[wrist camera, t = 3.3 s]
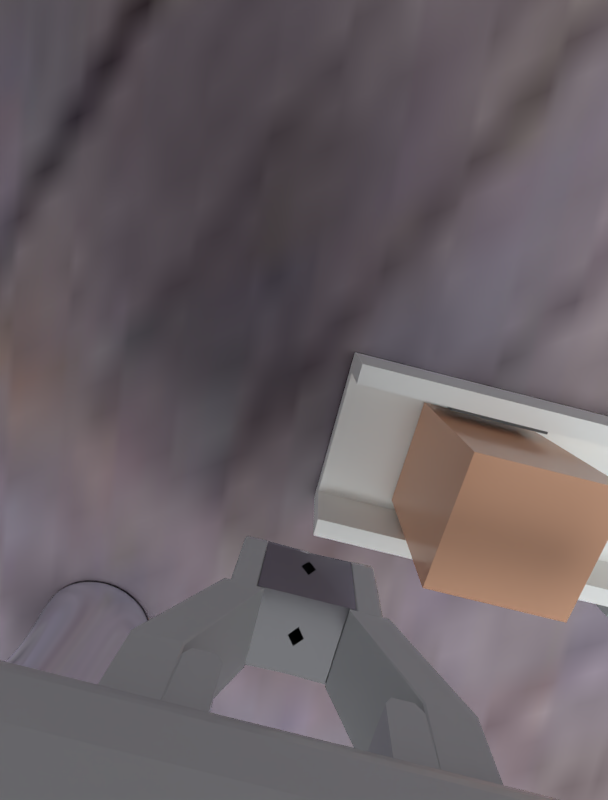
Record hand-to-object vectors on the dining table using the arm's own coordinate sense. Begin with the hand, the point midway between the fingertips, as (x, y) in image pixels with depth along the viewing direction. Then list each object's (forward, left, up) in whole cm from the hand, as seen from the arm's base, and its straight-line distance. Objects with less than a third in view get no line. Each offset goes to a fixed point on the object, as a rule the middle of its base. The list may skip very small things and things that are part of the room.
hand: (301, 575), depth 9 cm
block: (0, +7, -10) cm, 12 cm away
